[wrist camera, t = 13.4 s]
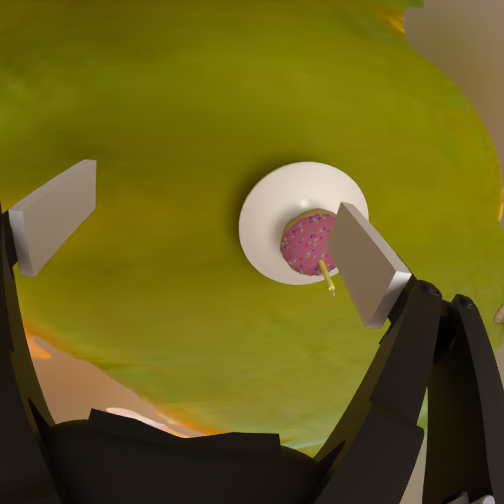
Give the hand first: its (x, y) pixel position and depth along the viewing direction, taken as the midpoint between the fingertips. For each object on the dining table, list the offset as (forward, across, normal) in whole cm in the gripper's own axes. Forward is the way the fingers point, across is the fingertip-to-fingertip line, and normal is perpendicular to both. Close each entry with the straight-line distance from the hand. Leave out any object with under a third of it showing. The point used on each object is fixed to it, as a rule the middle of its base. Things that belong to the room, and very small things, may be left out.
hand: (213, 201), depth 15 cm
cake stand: (+29, +13, -10) cm, 33 cm away
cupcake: (+21, +13, -10) cm, 26 cm away
